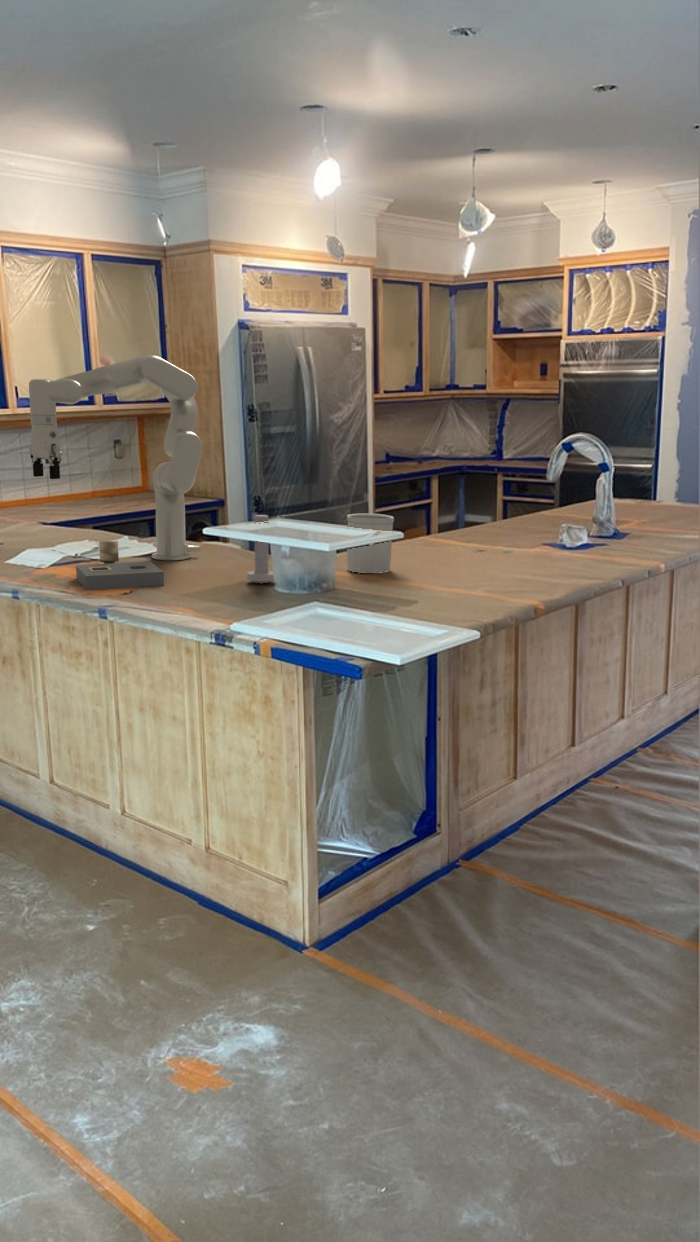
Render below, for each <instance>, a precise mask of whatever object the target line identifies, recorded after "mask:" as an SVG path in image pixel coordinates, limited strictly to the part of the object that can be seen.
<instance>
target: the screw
mask: <svg viewBox="0 0 700 1242" xmlns="http://www.w3.org/2000/svg"><path fill="white" fill-rule="evenodd" d="M253 521H254V524H255V523H256V522H264V521H268V522H264V523H268V524H270V522H269V515H267V514H257V515H254V520H253ZM259 524H260V523H259ZM269 547H270V546H269V543H264V542H258V541H255V540H254V570H250V571H247V572H246V575H247V576H246V580H249V581H250V582H252V583H254V584H257V583H260V584H259V585H264V584H263V583H266V584H268V583H271V582H273V581H274V580H273V570H269V566H270V565H269V561H270V559H269V558H270V557H269Z"/></svg>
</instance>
